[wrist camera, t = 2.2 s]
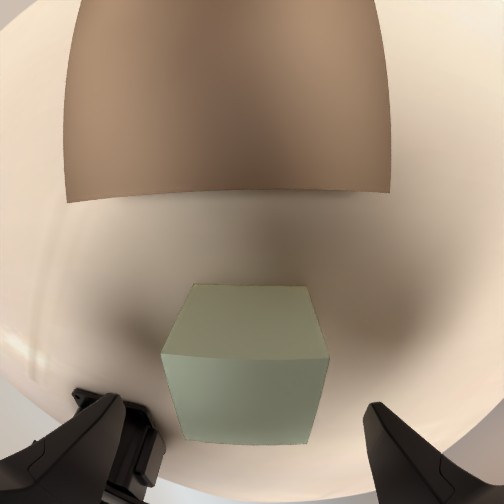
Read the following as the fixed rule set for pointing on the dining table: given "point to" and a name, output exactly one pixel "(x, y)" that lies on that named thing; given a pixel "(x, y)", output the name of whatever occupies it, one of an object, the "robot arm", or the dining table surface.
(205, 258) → the dining table surface
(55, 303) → the dining table surface
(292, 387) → the sage block
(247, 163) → the walnut block
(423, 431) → the dining table surface
